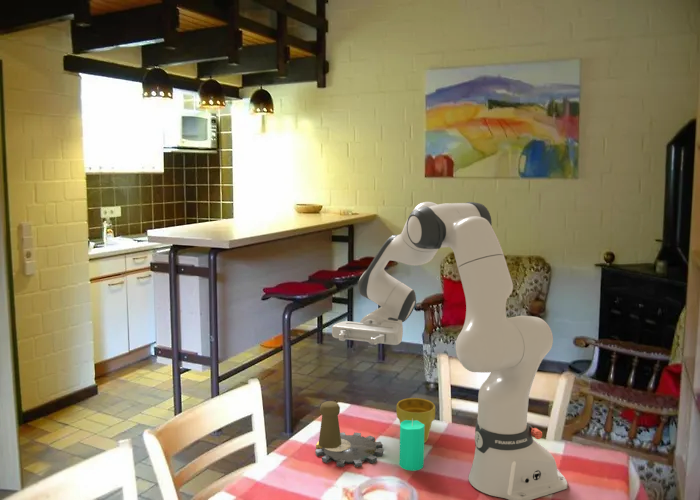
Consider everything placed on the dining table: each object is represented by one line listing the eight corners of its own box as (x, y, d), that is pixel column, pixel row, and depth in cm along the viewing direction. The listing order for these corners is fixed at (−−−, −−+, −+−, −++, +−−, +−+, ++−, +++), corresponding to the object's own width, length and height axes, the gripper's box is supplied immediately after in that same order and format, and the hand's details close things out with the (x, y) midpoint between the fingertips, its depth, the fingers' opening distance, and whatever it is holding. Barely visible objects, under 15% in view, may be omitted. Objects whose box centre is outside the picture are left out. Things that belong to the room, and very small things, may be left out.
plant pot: (407, 451, 156) (408, 415, 155) (389, 434, 165) (389, 400, 164) (441, 443, 160) (442, 408, 159) (422, 428, 170) (422, 395, 168)
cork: (334, 450, 154) (334, 409, 152) (314, 445, 156) (313, 404, 155) (345, 441, 159) (345, 401, 157) (325, 436, 162) (325, 397, 160)
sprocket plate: (371, 432, 167) (371, 428, 167) (392, 462, 150) (392, 457, 150) (309, 439, 162) (309, 435, 162) (323, 471, 145) (323, 466, 145)
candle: (424, 470, 146) (426, 423, 144) (400, 470, 146) (401, 423, 144) (422, 459, 152) (423, 413, 150) (398, 458, 152) (399, 413, 150)
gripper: (342, 314, 181) (322, 324, 169) (407, 320, 174) (391, 332, 161) (342, 334, 182) (322, 346, 170) (407, 341, 174) (391, 355, 162)
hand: (356, 339), depth 165 cm, fingers open, 8 cm apart
